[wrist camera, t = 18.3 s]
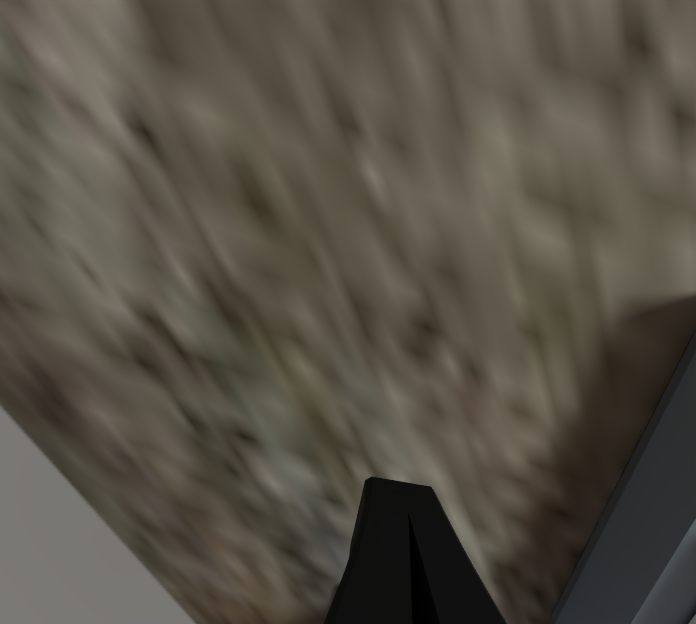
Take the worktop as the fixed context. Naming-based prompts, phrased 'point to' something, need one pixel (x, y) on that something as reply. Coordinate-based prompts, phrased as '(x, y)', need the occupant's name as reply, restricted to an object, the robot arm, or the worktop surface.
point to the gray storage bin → (646, 525)
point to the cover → (693, 620)
